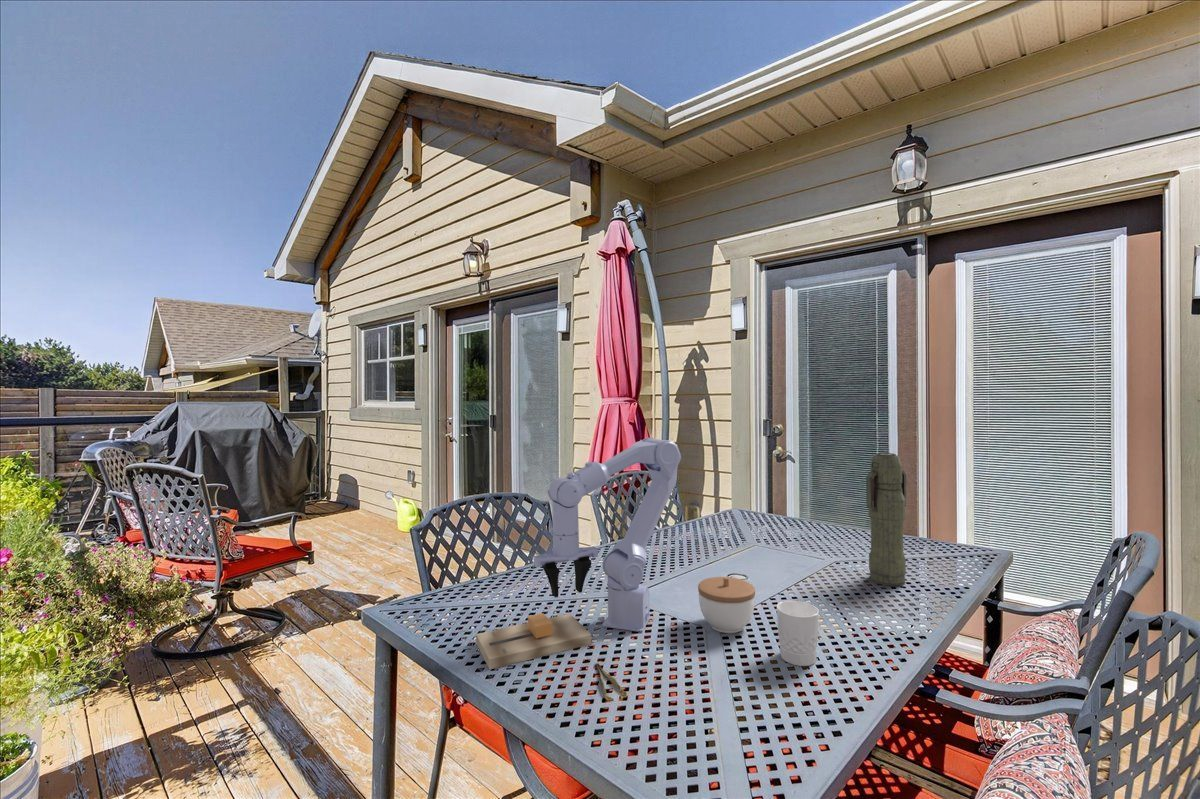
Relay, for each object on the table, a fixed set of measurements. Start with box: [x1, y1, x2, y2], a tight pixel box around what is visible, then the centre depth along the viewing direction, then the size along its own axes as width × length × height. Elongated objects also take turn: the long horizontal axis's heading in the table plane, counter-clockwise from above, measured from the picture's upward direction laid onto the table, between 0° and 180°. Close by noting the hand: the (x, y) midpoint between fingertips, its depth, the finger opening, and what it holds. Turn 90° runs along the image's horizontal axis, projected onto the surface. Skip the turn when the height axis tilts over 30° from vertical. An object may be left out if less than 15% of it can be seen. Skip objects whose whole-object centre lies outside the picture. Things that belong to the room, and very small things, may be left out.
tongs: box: [594, 662, 628, 702], centre depth 98 cm, size 4×13×2 cm, turn 22°
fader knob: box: [527, 612, 552, 638], centre depth 114 cm, size 4×6×2 cm, turn 25°
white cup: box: [776, 600, 820, 667], centre depth 105 cm, size 8×8×10 cm
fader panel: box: [475, 613, 592, 670], centre depth 113 cm, size 22×12×2 cm, turn 115°
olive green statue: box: [865, 452, 907, 587], centre depth 145 cm, size 9×12×35 cm
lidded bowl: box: [697, 576, 756, 634], centre depth 120 cm, size 13×13×11 cm
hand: (567, 593), depth 116 cm, fingers open, 5 cm apart
